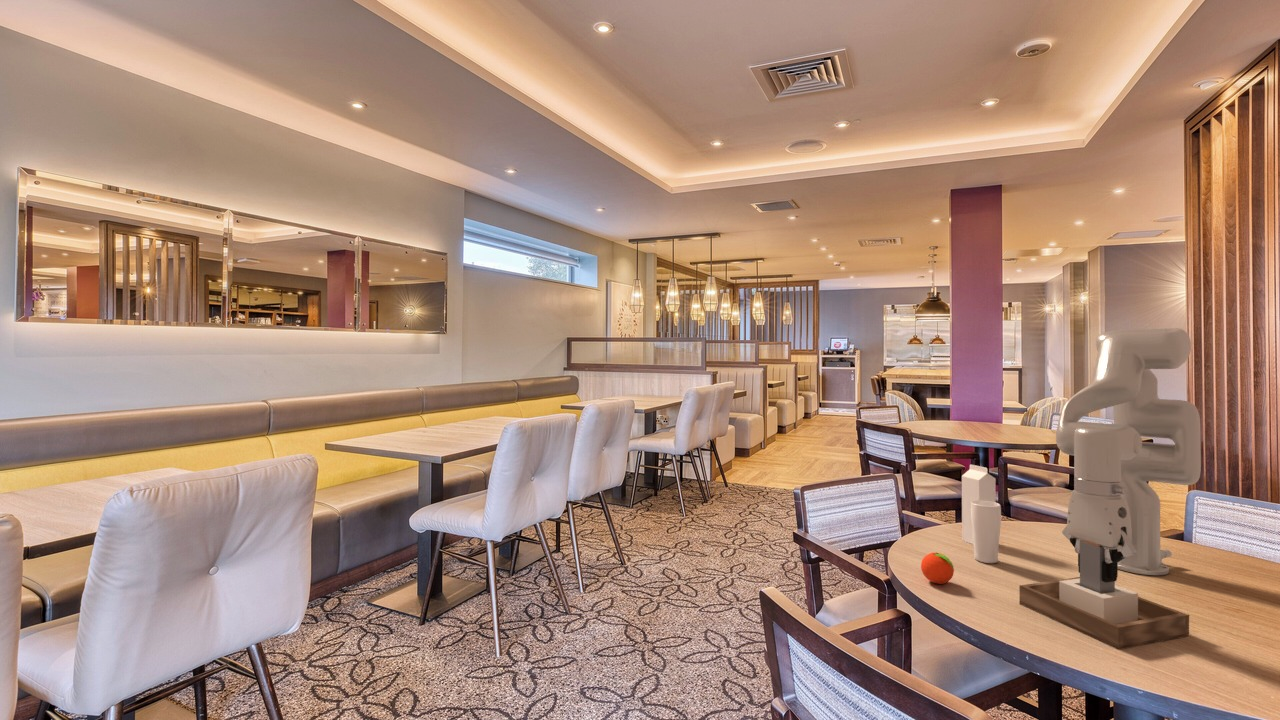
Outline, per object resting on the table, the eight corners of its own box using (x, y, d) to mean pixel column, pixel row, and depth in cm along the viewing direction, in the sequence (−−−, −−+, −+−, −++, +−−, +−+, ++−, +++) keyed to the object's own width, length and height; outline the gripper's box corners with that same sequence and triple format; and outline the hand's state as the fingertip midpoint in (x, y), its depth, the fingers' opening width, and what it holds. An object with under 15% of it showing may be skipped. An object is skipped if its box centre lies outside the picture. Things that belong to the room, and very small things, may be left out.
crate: (1083, 594, 128) (1083, 576, 128) (1189, 636, 109) (1189, 615, 109) (1019, 603, 124) (1019, 585, 124) (1118, 649, 104) (1118, 627, 104)
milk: (979, 547, 160) (978, 468, 160) (961, 540, 166) (961, 464, 166) (996, 545, 162) (995, 467, 162) (978, 538, 168) (977, 463, 168)
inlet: (1091, 601, 123) (1091, 576, 123) (1137, 620, 114) (1137, 593, 114) (1059, 606, 121) (1059, 581, 121) (1103, 626, 112) (1103, 598, 112)
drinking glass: (1005, 566, 146) (1005, 507, 146) (976, 564, 147) (976, 506, 147) (994, 556, 152) (994, 500, 152) (967, 555, 154) (966, 499, 154)
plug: (1094, 587, 120) (1094, 534, 120) (1114, 595, 116) (1114, 540, 116) (1079, 589, 119) (1079, 536, 119) (1099, 597, 115) (1099, 542, 115)
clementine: (965, 587, 133) (964, 556, 133) (943, 592, 130) (943, 561, 130) (935, 575, 140) (935, 546, 140) (914, 579, 137) (914, 550, 137)
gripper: (1156, 495, 110) (1156, 590, 110) (1071, 478, 126) (1071, 561, 126) (1127, 498, 108) (1127, 595, 108) (1044, 480, 125) (1044, 564, 125)
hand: (1097, 576), depth 117 cm, fingers closed on plug, 4 cm apart
